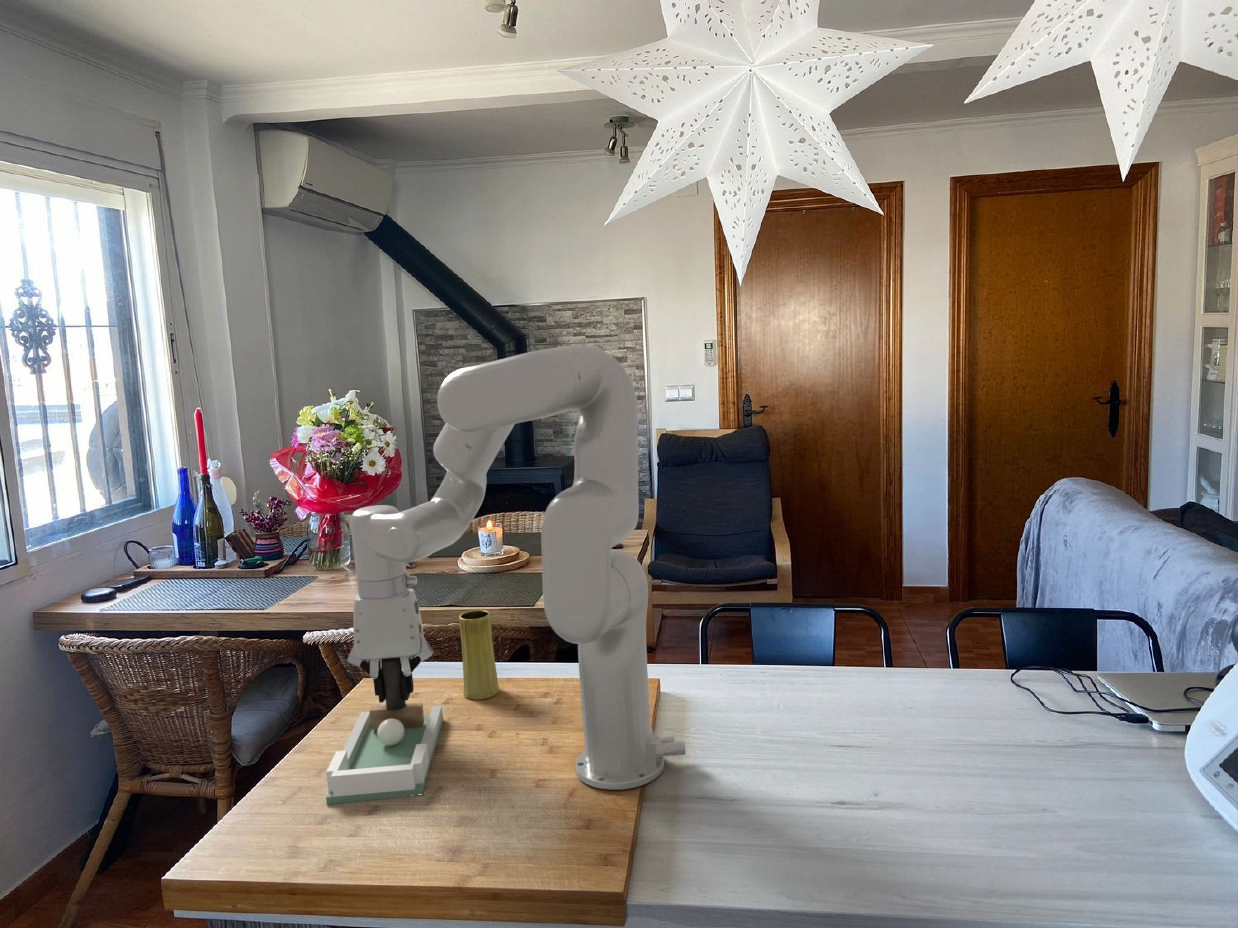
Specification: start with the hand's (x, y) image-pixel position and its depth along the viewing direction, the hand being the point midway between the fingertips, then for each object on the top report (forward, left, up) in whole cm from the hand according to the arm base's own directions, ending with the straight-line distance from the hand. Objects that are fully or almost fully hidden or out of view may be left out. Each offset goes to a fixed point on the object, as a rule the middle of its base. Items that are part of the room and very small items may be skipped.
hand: (395, 696), depth 147 cm
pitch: (0, +8, -6) cm, 10 cm away
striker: (0, 0, -5) cm, 5 cm away
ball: (0, +6, -3) cm, 6 cm away
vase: (-12, -13, -6) cm, 19 cm away
